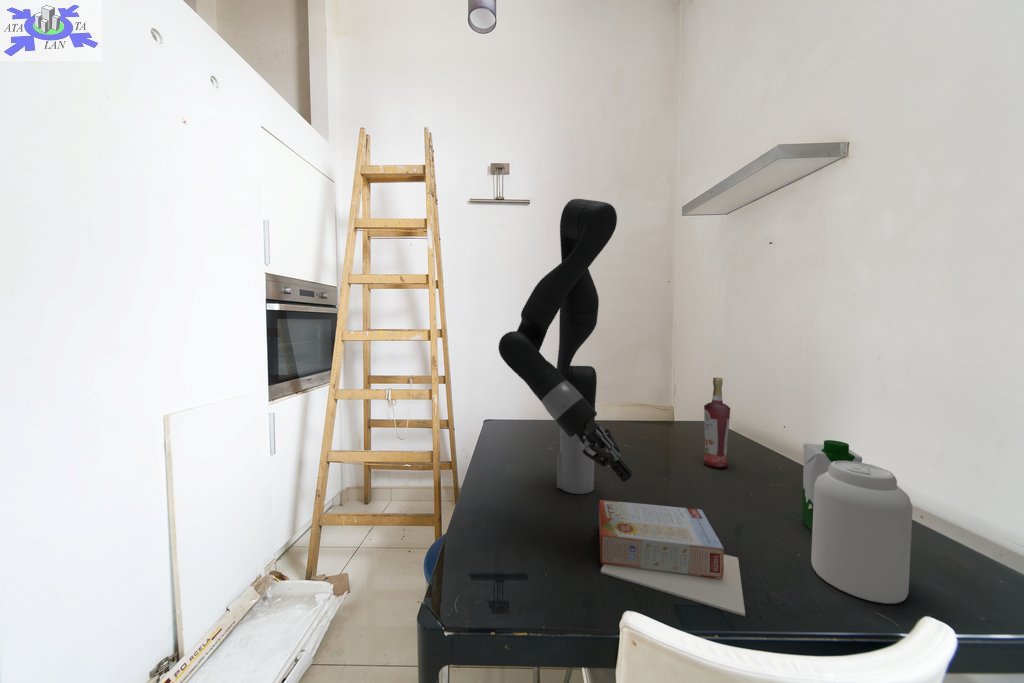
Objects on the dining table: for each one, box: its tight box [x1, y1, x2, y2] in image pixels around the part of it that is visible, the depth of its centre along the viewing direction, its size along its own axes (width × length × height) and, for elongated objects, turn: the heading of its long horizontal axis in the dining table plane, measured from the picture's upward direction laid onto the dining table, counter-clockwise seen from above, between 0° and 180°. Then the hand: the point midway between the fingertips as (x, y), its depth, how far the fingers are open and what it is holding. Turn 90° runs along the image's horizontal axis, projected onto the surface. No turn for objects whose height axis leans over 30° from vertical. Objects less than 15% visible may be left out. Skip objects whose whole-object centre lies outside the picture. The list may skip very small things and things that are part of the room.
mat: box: [600, 553, 746, 617], centre depth 70 cm, size 22×16×1 cm
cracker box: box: [598, 499, 725, 579], centre depth 74 cm, size 14×6×21 cm
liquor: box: [703, 377, 731, 469], centre depth 121 cm, size 7×7×28 cm
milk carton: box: [801, 439, 863, 533], centre depth 82 cm, size 9×9×20 cm
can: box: [810, 461, 914, 604], centre depth 66 cm, size 12×12×20 cm
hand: (628, 478), depth 73 cm, fingers closed
